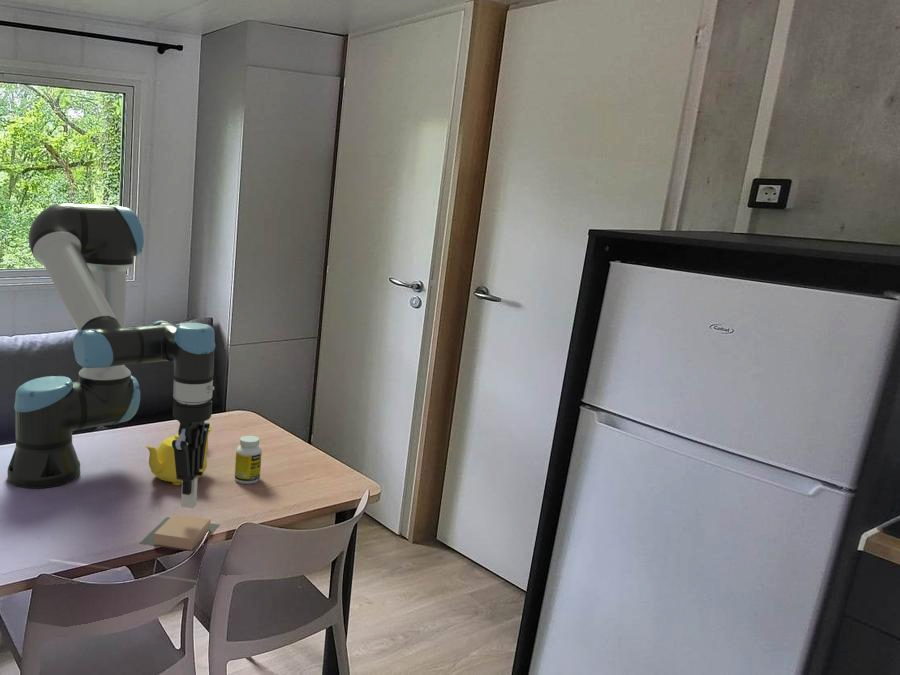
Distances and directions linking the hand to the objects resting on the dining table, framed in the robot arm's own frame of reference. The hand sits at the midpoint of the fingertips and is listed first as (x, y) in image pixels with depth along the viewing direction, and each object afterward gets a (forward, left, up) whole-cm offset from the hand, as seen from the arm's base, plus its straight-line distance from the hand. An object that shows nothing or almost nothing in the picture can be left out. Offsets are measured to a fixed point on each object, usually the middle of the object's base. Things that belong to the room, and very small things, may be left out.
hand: (188, 505), depth 150 cm
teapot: (-13, +25, -7) cm, 29 cm away
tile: (0, +2, -5) cm, 5 cm away
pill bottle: (+2, +30, -7) cm, 31 cm away
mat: (-1, -1, -6) cm, 7 cm away
